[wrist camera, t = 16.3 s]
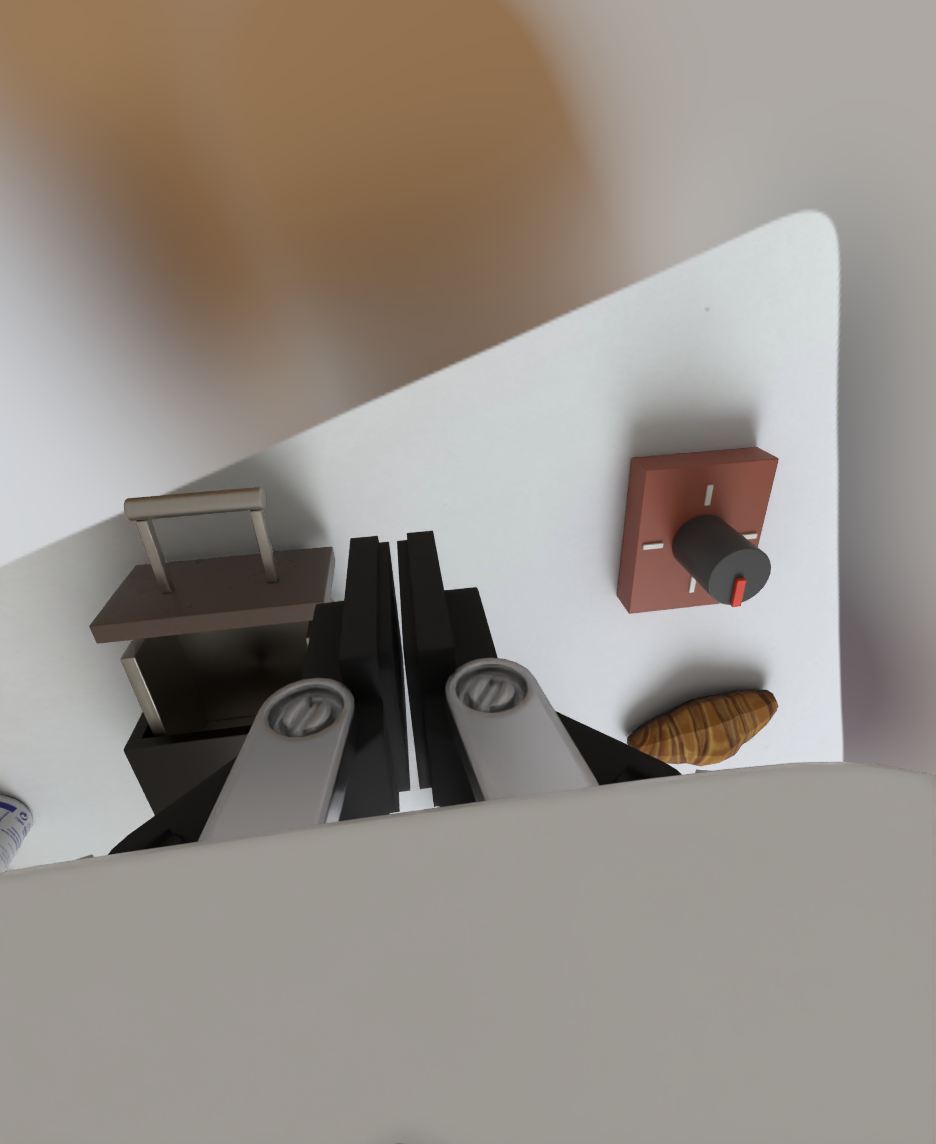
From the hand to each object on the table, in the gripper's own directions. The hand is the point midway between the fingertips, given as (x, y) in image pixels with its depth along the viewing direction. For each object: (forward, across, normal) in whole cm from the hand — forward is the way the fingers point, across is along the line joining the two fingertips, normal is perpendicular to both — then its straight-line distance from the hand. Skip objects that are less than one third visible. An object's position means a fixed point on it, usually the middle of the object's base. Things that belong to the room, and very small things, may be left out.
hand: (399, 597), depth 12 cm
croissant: (+25, -24, +31) cm, 47 cm away
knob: (+22, -20, +12) cm, 32 cm away
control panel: (+25, -20, +12) cm, 34 cm away
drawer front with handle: (+24, +11, +14) cm, 30 cm away
